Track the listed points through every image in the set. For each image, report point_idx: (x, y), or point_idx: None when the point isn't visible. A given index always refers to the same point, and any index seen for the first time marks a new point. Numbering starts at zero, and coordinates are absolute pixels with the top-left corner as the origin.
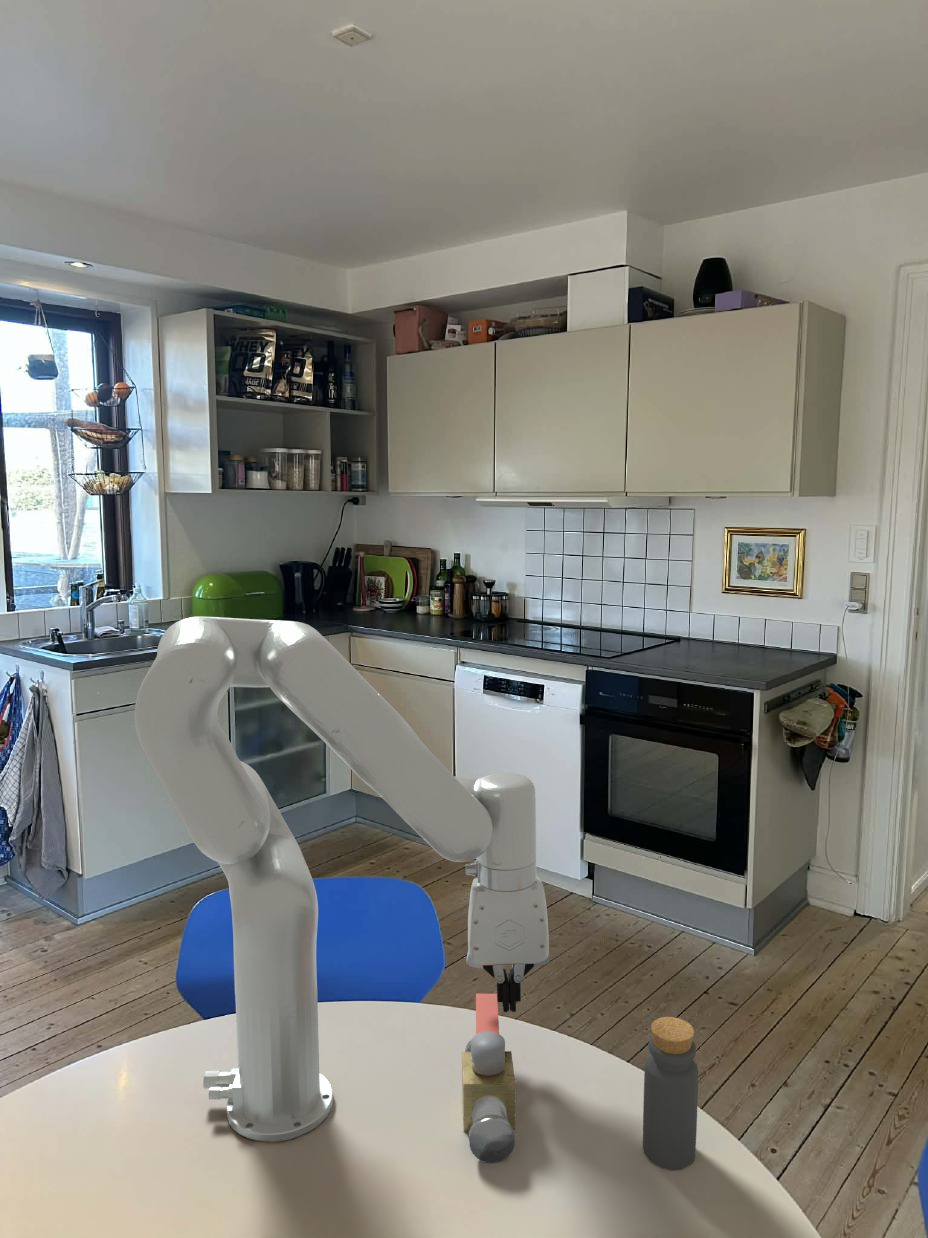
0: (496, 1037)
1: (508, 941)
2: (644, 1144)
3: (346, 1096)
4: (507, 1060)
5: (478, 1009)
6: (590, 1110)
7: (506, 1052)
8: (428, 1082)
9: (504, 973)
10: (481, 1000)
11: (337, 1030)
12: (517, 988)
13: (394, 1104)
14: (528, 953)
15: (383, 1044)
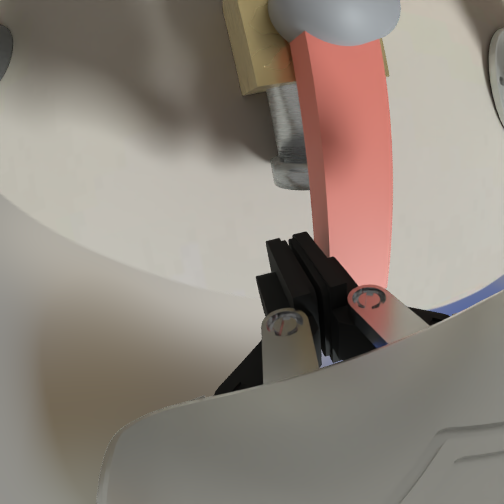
0: (323, 5)
1: (482, 496)
2: (2, 33)
3: (480, 96)
4: (263, 44)
5: (386, 212)
6: (83, 99)
7: (271, 78)
8: (396, 124)
9: (349, 336)
10: (376, 259)
11: (490, 235)
12: (277, 301)
13: (431, 71)
14: (251, 467)
15: (454, 216)
